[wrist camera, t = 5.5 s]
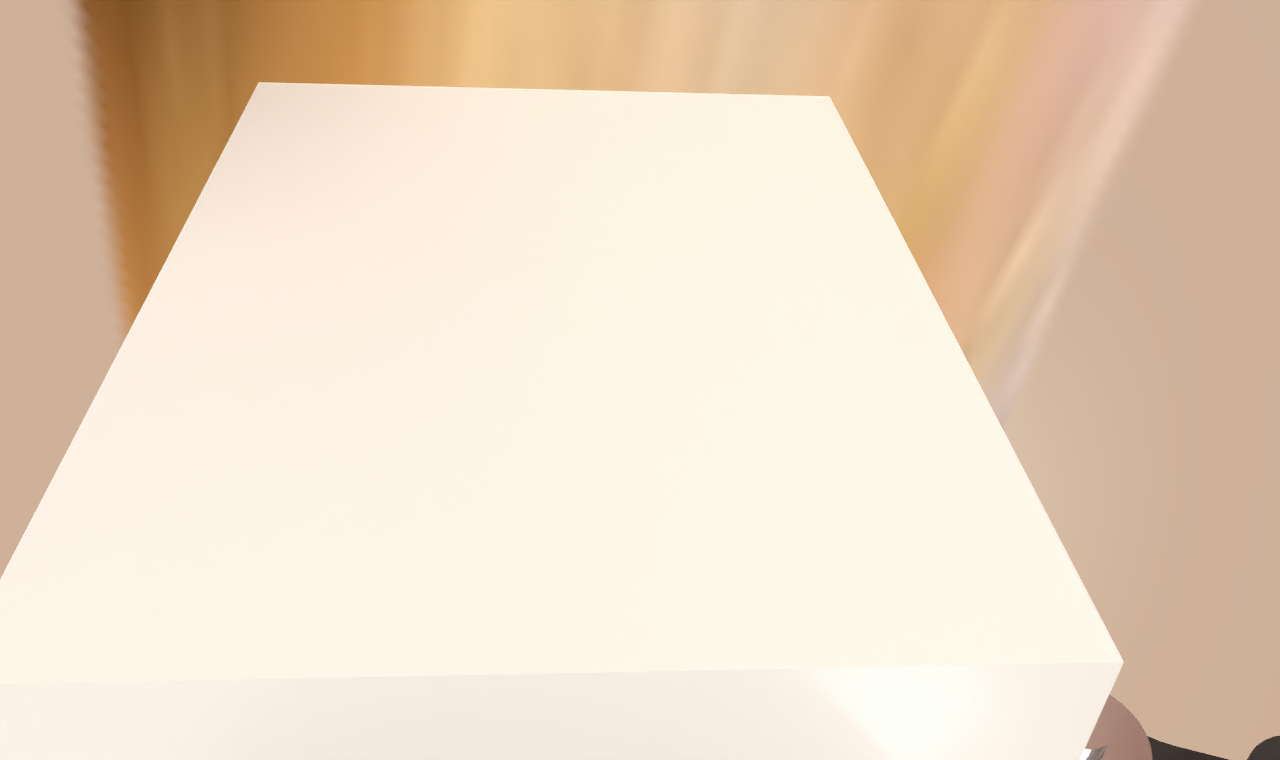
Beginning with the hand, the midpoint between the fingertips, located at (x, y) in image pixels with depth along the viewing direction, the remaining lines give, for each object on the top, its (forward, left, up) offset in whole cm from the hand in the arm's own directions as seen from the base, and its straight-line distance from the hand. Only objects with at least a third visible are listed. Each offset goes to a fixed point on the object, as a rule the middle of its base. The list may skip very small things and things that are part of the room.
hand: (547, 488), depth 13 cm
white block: (0, 0, -3) cm, 3 cm away
